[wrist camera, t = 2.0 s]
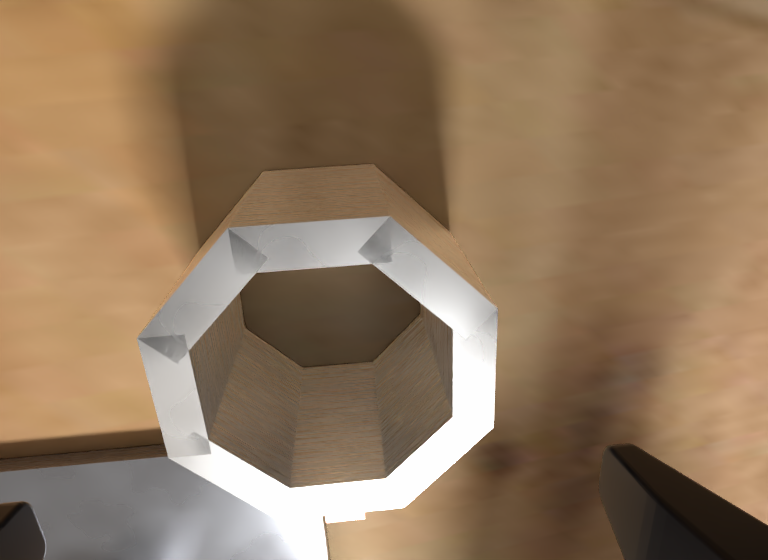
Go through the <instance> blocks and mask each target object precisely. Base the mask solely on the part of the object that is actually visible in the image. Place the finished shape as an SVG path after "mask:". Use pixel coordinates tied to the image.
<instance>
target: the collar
mask: <svg viewBox="0 0 768 560" xmlns="http://www.w3.org/2000/svg"><path fill="white" fill-rule="evenodd" d="M365 264H373V265H374V266H375V267H377V268H378V269H379V270H380V271H382V272H383V273H384V274H385V275H387V276H388V277H389V278H390V279H392V280H393V281H394V282H395V283H397V284H398V285H399V286H400V287H401V288H403V289H404V290H405V291H406V292H408V293H409V294H410V295H411V296H413V297H414V298H415V299H416V300H418V301H419V302H420V315H419V316H418V317H417V318H416V319H415V320H414V321H413V322H412V323H411V324H410V325H409V326H408V327H407V328H406V329H405V330H404V331H403V332H402V333H401V334H400V335H399V336H398V337H397V338H396V339H395V340H394V341H393V342H392V343H391V344H390V345H389V346H388V347H387V348H386V349H385V350H384V351H383V352H382V353H381V354H380V355H379V356H378V357H377V358H376V359H375V360H374V361H373V362H364V363H353V364H341V365H330V366H318V367H306V368H303V367H301V366H300V365H298V364H297V363H295V362H294V361H293V360H291V359H290V358H288V357H287V356H285V355H284V354H282V353H281V352H280V351H278V350H277V349H275V348H274V347H272V346H271V345H269V344H268V343H266V342H265V341H264V340H262V339H261V338H259V337H258V336H256V335H255V334H253V333H252V332H251V331H249V330H248V329H246V327H245V321H244V315H243V309H242V303H241V298H240V291H241V290H242V289H243V287H244V286H245V285H246V284H247V283H248V282H249V280H250V279H251V278H252V277H253V276H254V275H255V274H256V273H261V272H274V271H287V270H300V269H313V268H326V267H339V266H352V265H365ZM497 320H498V308H497V306H496V305H495V303H494V302H493V300H492V298H491V297H490V295H489V294H488V292H487V290H486V289H485V287H484V286H483V284H482V282H481V281H480V279H479V278H478V276H477V274H476V273H475V271H474V270H473V268H472V266H471V265H470V263H469V262H468V260H467V258H466V257H465V255H464V254H463V252H462V250H461V249H460V247H459V246H458V244H457V242H456V241H455V239H454V238H453V236H452V235H451V233H450V231H448V230H447V229H446V228H445V227H444V226H443V225H442V224H441V223H439V222H438V221H437V220H436V219H435V218H434V217H433V216H432V215H430V214H429V213H428V212H427V211H426V210H425V209H424V208H423V207H421V206H420V205H419V204H418V203H417V202H416V201H415V200H414V199H412V198H411V197H410V196H409V195H408V194H407V193H406V192H405V191H403V190H402V189H401V188H400V187H399V186H398V185H397V184H395V183H394V182H393V181H392V180H391V179H390V178H389V177H388V176H386V175H385V174H384V173H383V172H382V171H381V170H380V169H379V168H377V167H376V166H375V165H374V164H361V165H346V166H332V167H317V168H302V169H287V170H272V171H263V172H262V173H261V175H260V176H259V177H258V178H257V180H256V181H255V182H254V183H253V184H252V186H251V187H250V188H249V189H248V191H247V192H246V193H245V194H244V195H243V197H242V198H241V199H240V200H239V202H238V203H237V204H236V205H235V207H234V208H233V209H232V210H231V211H230V213H229V214H228V215H227V216H226V218H225V219H224V220H223V221H222V222H221V224H220V225H219V226H218V227H217V229H216V230H215V231H214V232H213V234H212V235H211V236H210V237H209V238H208V240H207V241H206V242H205V243H204V245H203V246H202V247H201V248H200V249H199V251H198V252H197V254H196V255H195V256H194V258H193V259H192V261H191V262H190V264H189V265H188V266H187V268H186V269H185V271H184V272H183V273H182V275H181V276H180V278H179V279H178V281H177V282H176V283H175V285H174V286H173V288H172V289H171V291H170V292H169V293H168V295H167V296H166V298H165V299H164V300H163V302H162V303H161V305H160V306H159V308H158V309H157V310H156V312H155V313H154V315H153V316H152V317H151V319H150V320H149V322H148V323H147V325H146V326H145V327H144V329H143V330H142V332H141V333H140V335H139V336H138V337H137V341H138V345H139V348H140V352H141V356H142V360H143V363H144V367H145V371H146V375H147V379H148V382H149V386H150V390H151V394H152V398H153V401H154V405H155V409H156V413H157V416H158V420H159V424H160V428H161V432H162V435H163V439H164V443H165V447H166V450H167V454H168V458H169V459H171V460H173V461H174V462H176V463H178V464H180V465H182V466H183V467H185V468H187V469H189V470H190V471H192V472H194V473H196V474H197V475H199V476H201V477H203V478H204V479H206V480H208V481H210V482H212V483H213V484H215V485H217V486H219V487H220V488H222V489H224V490H226V491H227V492H229V493H231V494H233V495H235V496H236V497H238V498H240V499H242V500H243V501H245V502H247V503H249V504H250V505H252V506H254V507H256V508H258V509H259V510H261V511H263V512H265V513H266V514H268V515H270V516H272V517H273V518H275V519H277V520H285V519H295V518H305V517H315V516H325V519H326V523H331V522H341V521H351V520H360V519H365V513H364V511H374V510H384V509H394V508H404V507H405V506H406V505H407V504H409V503H410V502H411V501H412V500H413V499H414V498H415V497H416V496H418V495H419V494H420V493H421V492H422V491H423V490H424V489H425V488H427V487H428V486H429V485H430V484H431V483H432V482H433V481H434V480H435V479H437V478H438V477H439V476H440V475H441V474H442V473H443V472H444V471H446V470H447V469H448V468H449V467H450V466H451V465H452V464H453V463H455V462H456V461H457V460H458V459H459V458H460V457H461V456H462V455H464V454H465V453H466V452H467V451H468V450H469V449H470V448H471V447H473V446H474V445H475V444H476V443H477V442H478V441H479V440H480V439H481V438H483V437H484V436H485V435H486V434H487V433H488V432H489V431H490V430H492V429H493V428H494V405H495V377H496V348H497Z"/></svg>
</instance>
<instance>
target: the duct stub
mask: <svg viewBox="0 0 768 560" xmlns="http://www.w3.org/2000/svg"><path fill="white" fill-rule="evenodd" d="M18 501H25V502H28V503H29V504H31V505H32V507H33V509H34V512H35V514H36V517H37V519H38V522H39V524H40V527H41V529H42V532H43V534H44V537H45V540H46V552H45V556H44V560H330V555H329V548H328V540H327V532H326V524H325V516H315V517H305V518H295V519H285V520H277V519H275V518H273V517H272V516H270V515H268V514H266V513H265V512H263V511H261V510H259V509H258V508H256V507H254V506H252V505H250V504H249V503H247V502H245V501H243V500H242V499H240V498H238V497H236V496H235V495H233V494H231V493H229V492H227V491H226V490H224V489H222V488H220V487H219V486H217V485H215V484H213V483H212V482H210V481H208V480H206V479H204V478H203V477H201V476H199V475H197V474H196V473H194V472H192V471H190V470H189V469H187V468H185V467H183V466H182V465H180V464H178V463H176V462H174V461H173V460H171V459H169V458H168V454H167V450H166V447H165V444H163V445H152V446H141V447H131V448H120V449H109V450H98V451H87V452H77V453H66V454H55V455H44V456H33V457H23V458H12V459H1V460H0V504H1V503H8V502H18Z"/></svg>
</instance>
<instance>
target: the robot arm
mask: <svg viewBox="0 0 768 560" xmlns="http://www.w3.org/2000/svg"><path fill="white" fill-rule="evenodd" d="M599 493H600V498H601V501H602V503H603V506H604V508H605V511H606V514H607V516H608V519H609V521H610V524H611V526H612V529H613V531H614V534H615V536H616V539H617V541H618V544H619V546H620V549H621V551H622V554H623V556H624V559H625V560H768V525H766V524H765V523H763V522H761V521H760V520H758V519H756V518H755V517H753V516H751V515H750V514H748V513H746V512H745V511H743V510H741V509H740V508H738V507H736V506H735V505H733V504H732V503H730V502H728V501H727V500H725V499H723V498H722V497H720V496H718V495H717V494H715V493H713V492H712V491H710V490H708V489H707V488H705V487H703V486H702V485H700V484H698V483H697V482H695V481H693V480H692V479H690V478H688V477H687V476H685V475H683V474H682V473H680V472H678V471H677V470H675V469H673V468H672V467H670V466H668V465H667V464H665V463H663V462H662V461H660V460H658V459H657V458H655V457H653V456H652V455H650V454H648V453H647V452H645V451H643V450H642V449H640V448H638V447H637V446H635V445H633V444H617V445H609V446H607V447H606V448H605V449H604V451H603V456H602V464H601V471H600V478H599ZM45 552H46V540H45V537H44V534H43V532H42V529H41V527H40V524H39V522H38V519H37V517H36V514H35V512H34V509H33V507H32V505H31V504H29V503H28V502H25V501H18V502H8V503H1V504H0V560H44V556H45Z"/></svg>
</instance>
